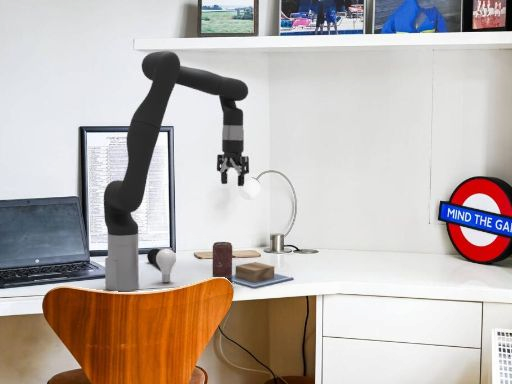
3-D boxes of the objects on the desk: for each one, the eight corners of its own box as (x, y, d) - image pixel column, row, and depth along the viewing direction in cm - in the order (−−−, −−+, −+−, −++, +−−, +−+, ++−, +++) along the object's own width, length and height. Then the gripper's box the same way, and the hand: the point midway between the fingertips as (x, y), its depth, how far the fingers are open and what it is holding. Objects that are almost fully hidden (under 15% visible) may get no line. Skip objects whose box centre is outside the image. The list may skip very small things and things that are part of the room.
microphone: (171, 281, 228) (157, 262, 246) (176, 266, 228) (162, 248, 246) (156, 278, 226) (143, 259, 244) (162, 262, 225) (148, 244, 243)
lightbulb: (161, 286, 210) (161, 251, 209) (152, 282, 215) (152, 248, 214) (179, 283, 213) (179, 249, 212) (170, 279, 219) (170, 246, 217)
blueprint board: (254, 288, 208) (254, 286, 208) (220, 279, 220) (220, 277, 219) (293, 279, 221) (293, 277, 220) (259, 271, 232) (259, 269, 232)
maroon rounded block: (230, 290, 206) (230, 245, 205) (210, 288, 207) (210, 244, 206) (234, 285, 212) (235, 241, 210) (215, 284, 213) (215, 240, 212)
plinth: (254, 282, 213) (254, 270, 213) (235, 277, 219) (235, 265, 219) (274, 278, 219) (274, 266, 219) (255, 273, 226) (255, 262, 225)
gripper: (211, 138, 235) (211, 183, 237) (238, 139, 225) (238, 187, 227) (227, 137, 240) (227, 182, 242) (254, 139, 230) (254, 186, 232)
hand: (232, 184), depth 235 cm, fingers open, 8 cm apart
